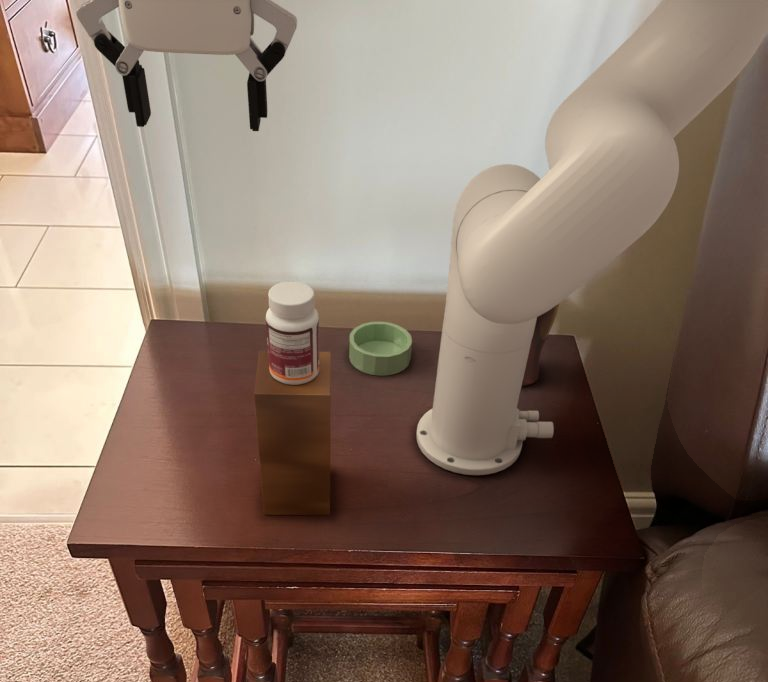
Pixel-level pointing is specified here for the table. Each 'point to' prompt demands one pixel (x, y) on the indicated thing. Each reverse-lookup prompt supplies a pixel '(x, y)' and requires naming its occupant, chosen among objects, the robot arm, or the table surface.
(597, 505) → the table surface
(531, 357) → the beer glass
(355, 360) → the bowl
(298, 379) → the pill bottle
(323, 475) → the pedestal
